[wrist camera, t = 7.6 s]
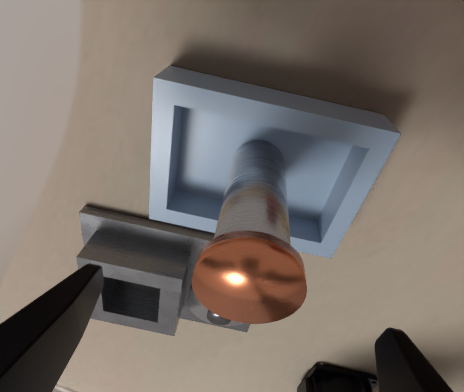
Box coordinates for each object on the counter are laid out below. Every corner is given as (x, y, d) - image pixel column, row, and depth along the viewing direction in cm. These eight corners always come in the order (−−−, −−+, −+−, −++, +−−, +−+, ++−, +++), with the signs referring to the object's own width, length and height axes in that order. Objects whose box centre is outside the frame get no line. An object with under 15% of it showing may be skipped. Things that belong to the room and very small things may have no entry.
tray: (383, 114, 15) (401, 133, 13) (325, 231, 20) (331, 258, 18) (169, 65, 15) (153, 77, 13) (161, 194, 20) (148, 218, 18)
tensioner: (277, 247, 21) (278, 285, 19) (247, 324, 27) (244, 360, 24) (85, 205, 21) (57, 237, 18) (96, 291, 27) (76, 325, 24)
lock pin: (300, 141, 16) (324, 263, 9) (281, 197, 18) (286, 332, 11) (232, 126, 16) (199, 236, 9) (220, 184, 18) (186, 310, 11)
